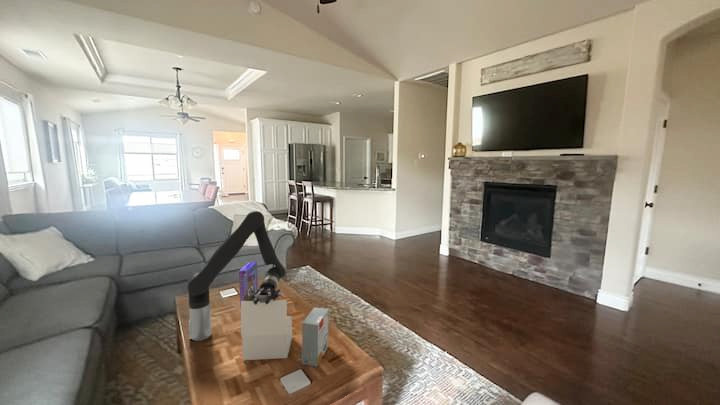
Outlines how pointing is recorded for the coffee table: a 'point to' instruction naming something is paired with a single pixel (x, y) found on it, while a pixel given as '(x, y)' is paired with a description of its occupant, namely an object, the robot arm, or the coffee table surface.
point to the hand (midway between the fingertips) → (261, 302)
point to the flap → (263, 317)
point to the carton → (267, 345)
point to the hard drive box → (314, 336)
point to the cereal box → (248, 281)
